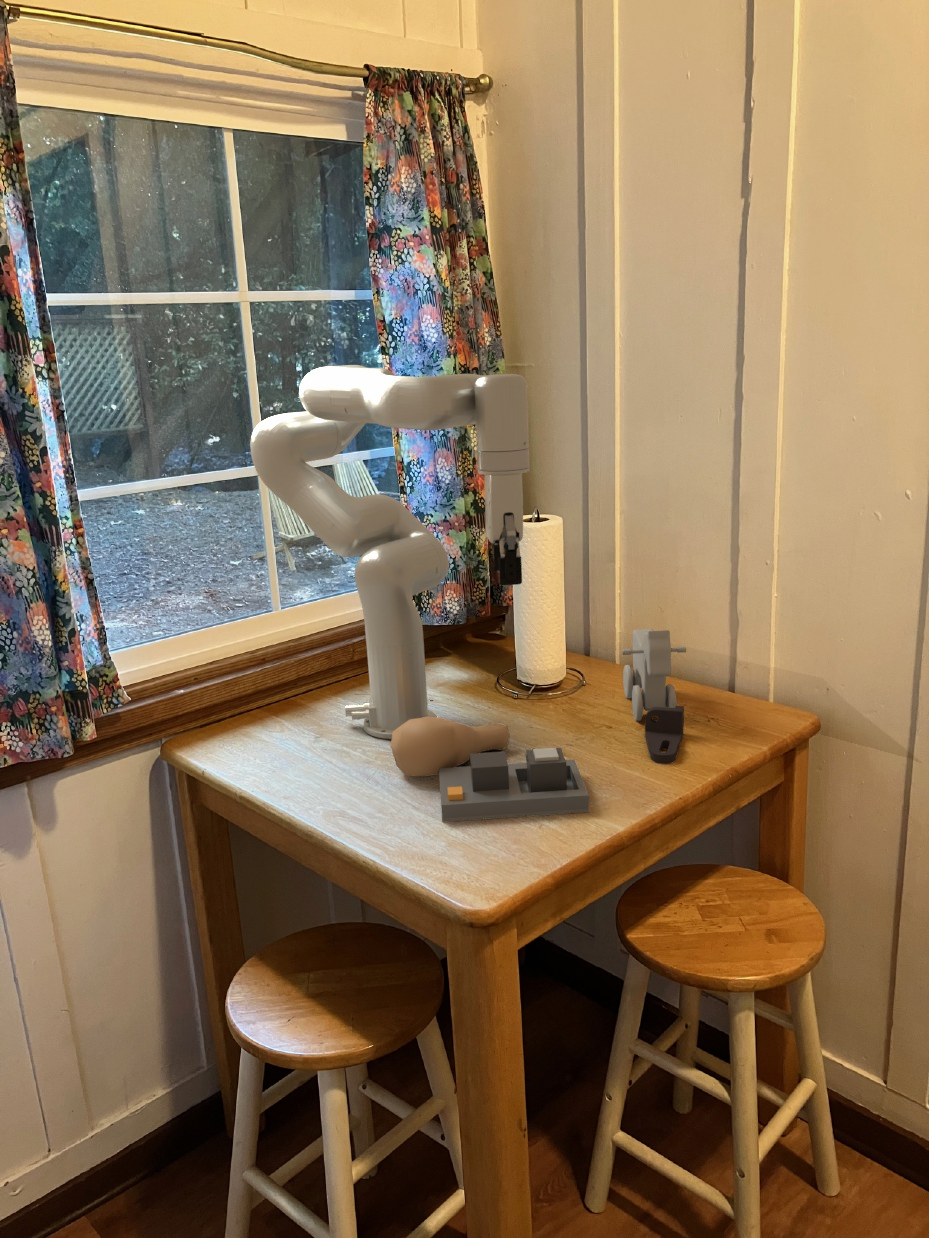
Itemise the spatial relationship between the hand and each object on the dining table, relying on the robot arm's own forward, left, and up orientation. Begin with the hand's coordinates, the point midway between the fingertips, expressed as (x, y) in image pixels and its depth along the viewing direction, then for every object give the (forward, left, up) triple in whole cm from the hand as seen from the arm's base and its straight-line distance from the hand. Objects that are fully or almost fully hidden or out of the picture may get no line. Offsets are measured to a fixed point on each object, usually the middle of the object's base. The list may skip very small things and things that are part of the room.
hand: (507, 576), depth 144 cm
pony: (+25, +14, -29) cm, 40 cm away
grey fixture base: (-2, -16, -28) cm, 33 cm away
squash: (-10, -3, -29) cm, 30 cm away
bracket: (+23, -2, -29) cm, 37 cm away
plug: (+3, -16, -28) cm, 32 cm away
